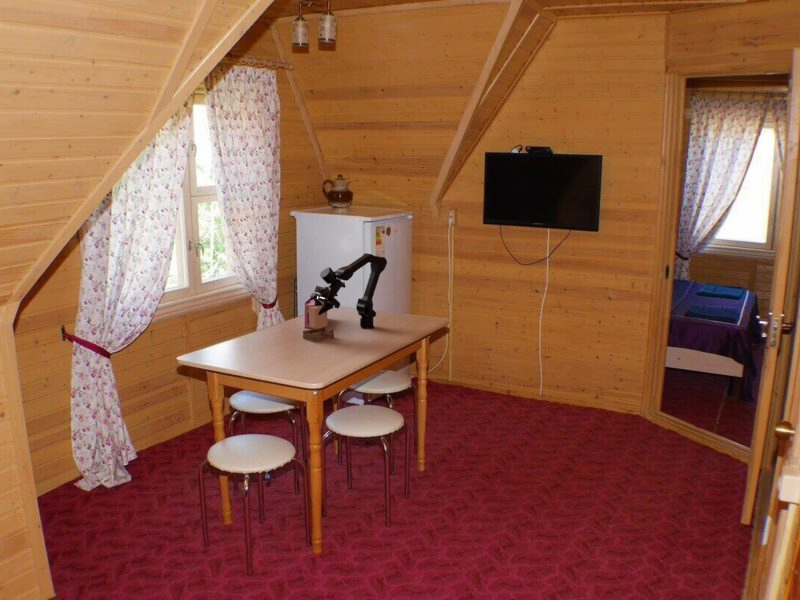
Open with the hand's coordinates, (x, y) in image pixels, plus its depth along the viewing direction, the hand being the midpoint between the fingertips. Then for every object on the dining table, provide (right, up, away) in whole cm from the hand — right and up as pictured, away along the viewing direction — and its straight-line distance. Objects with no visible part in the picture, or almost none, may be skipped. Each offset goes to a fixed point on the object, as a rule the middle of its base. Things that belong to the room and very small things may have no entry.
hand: (316, 313), depth 371 cm
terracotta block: (+1, -6, +2) cm, 7 cm away
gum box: (-4, -6, +34) cm, 35 cm away
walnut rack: (+1, -12, +4) cm, 13 cm away
